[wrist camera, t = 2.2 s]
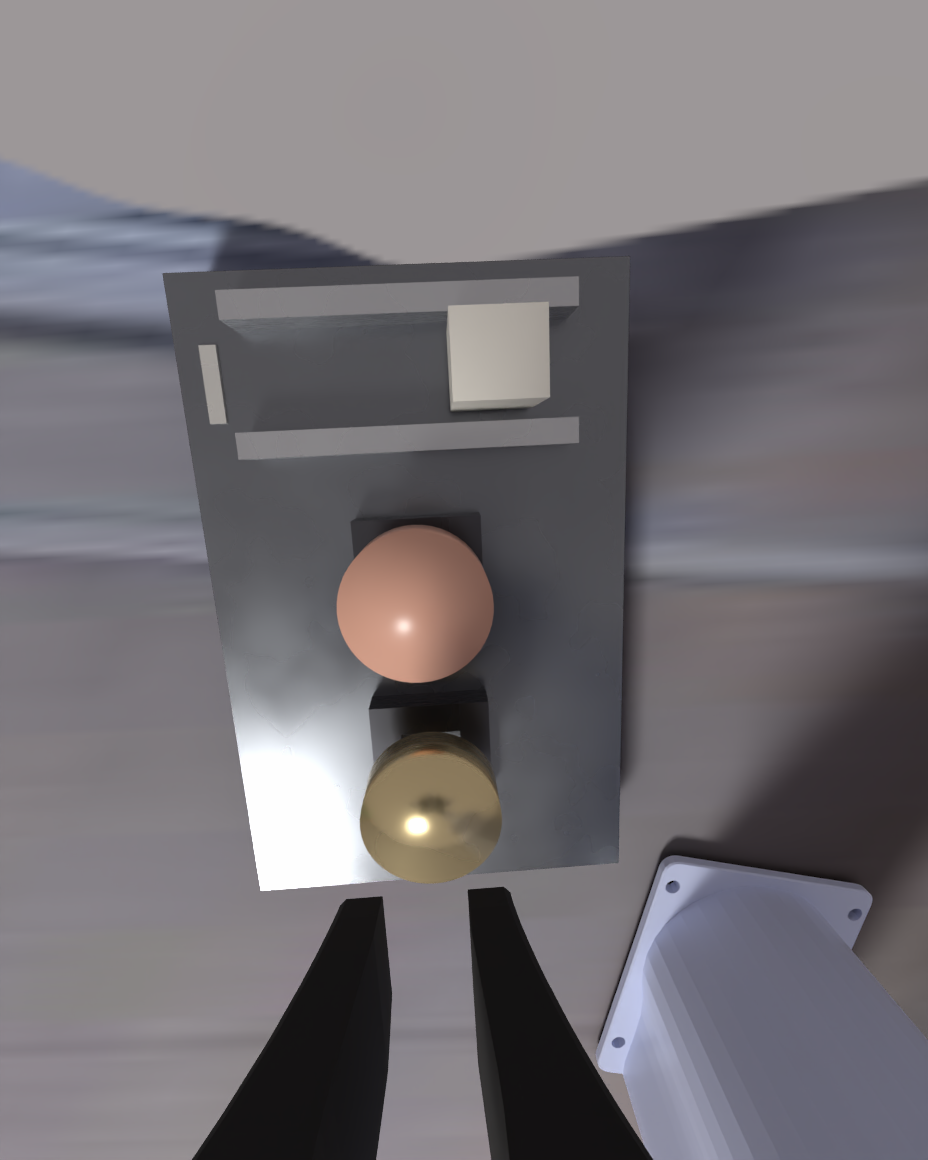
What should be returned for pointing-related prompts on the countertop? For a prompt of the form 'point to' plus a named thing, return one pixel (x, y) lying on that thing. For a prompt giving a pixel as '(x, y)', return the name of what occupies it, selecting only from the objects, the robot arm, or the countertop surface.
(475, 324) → the slider knob
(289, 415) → the panel
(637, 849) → the countertop surface
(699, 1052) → the robot arm
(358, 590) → the terracotta button
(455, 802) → the brass button
